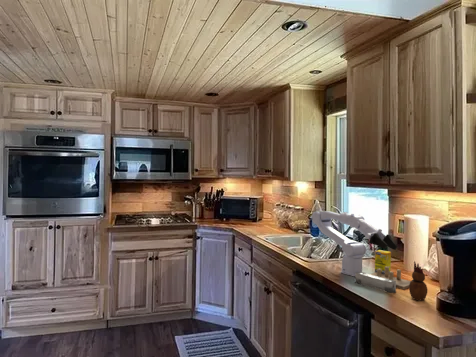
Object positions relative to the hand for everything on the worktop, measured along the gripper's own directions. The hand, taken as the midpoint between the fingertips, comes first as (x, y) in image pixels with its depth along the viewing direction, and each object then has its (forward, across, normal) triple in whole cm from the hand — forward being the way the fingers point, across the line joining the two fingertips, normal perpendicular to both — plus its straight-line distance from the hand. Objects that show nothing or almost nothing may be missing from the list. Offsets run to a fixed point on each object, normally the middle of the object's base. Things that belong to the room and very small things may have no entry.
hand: (391, 247), depth 158 cm
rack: (+2, +9, +17) cm, 19 cm away
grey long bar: (+5, -4, +18) cm, 19 cm away
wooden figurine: (+22, -2, +10) cm, 24 cm away
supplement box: (-9, +20, +20) cm, 30 cm away
